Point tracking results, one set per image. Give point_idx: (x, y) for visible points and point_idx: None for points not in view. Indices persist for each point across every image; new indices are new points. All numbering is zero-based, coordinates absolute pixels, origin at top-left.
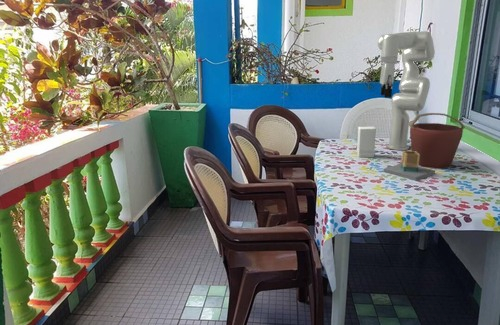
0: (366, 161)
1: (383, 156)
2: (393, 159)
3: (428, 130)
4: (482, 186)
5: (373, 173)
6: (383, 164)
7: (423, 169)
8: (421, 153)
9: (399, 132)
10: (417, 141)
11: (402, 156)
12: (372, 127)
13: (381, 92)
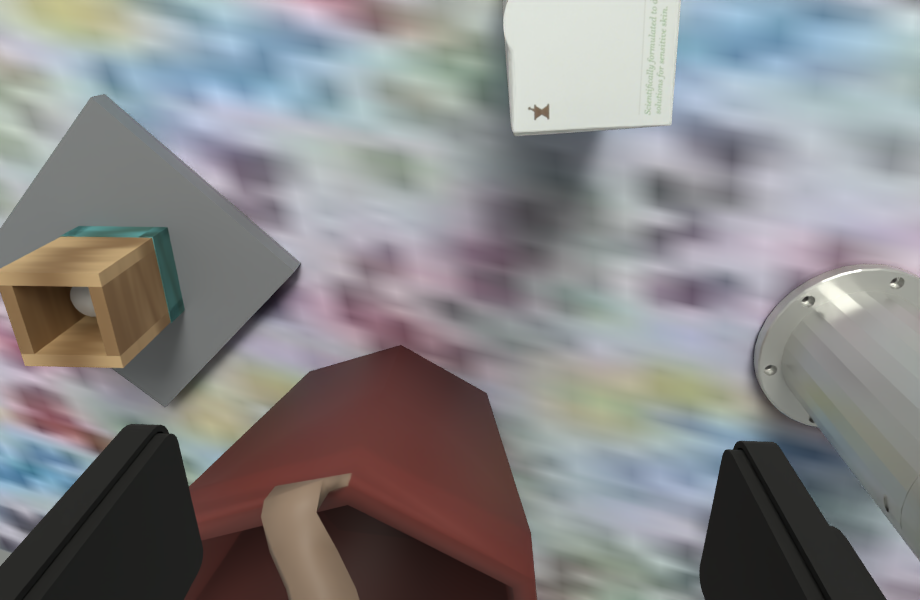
0: (373, 4)
1: (557, 180)
2: (470, 238)
3: None
4: (31, 523)
5: (36, 10)
6: (309, 134)
7: (165, 352)
8: (275, 410)
9: (852, 417)
10: (281, 438)
11: (104, 257)
12: (595, 101)
13: (753, 502)
